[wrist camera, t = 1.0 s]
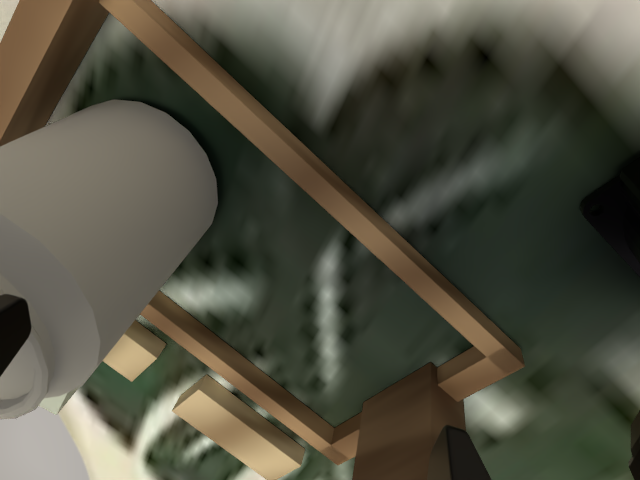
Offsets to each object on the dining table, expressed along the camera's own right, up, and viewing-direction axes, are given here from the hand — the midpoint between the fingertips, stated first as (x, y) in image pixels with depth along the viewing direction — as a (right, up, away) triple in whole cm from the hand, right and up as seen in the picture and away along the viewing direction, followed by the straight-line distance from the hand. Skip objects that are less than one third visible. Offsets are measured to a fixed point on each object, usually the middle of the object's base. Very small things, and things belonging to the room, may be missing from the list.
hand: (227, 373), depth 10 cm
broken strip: (-7, -5, +20) cm, 21 cm away
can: (-6, +6, +13) cm, 16 cm away
